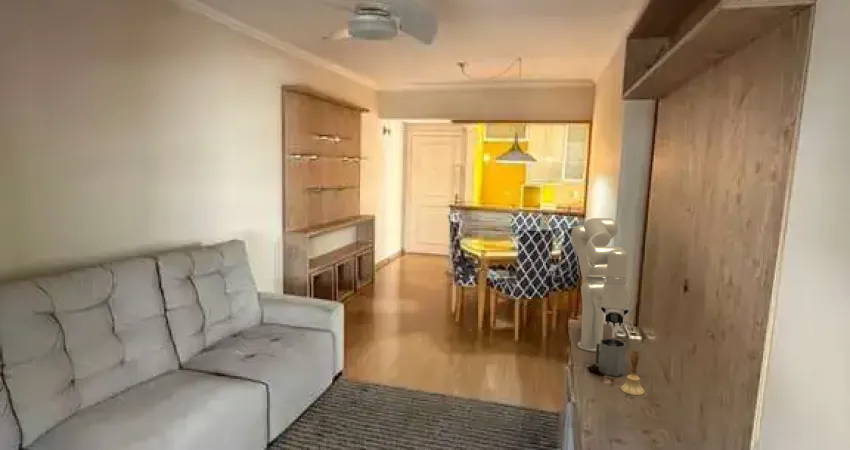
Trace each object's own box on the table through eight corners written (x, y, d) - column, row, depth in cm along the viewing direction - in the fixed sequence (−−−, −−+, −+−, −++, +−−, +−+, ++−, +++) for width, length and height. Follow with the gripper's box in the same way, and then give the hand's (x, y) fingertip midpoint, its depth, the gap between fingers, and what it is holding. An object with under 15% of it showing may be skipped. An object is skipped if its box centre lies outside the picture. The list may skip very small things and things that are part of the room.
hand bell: (643, 387, 191) (645, 347, 189) (645, 396, 184) (647, 355, 182) (620, 384, 194) (622, 345, 192) (621, 393, 186) (623, 352, 184)
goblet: (604, 348, 209) (606, 310, 207) (621, 350, 206) (623, 311, 204) (603, 353, 203) (605, 314, 200) (621, 356, 200) (623, 316, 198)
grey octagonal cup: (595, 365, 212) (597, 337, 211) (624, 368, 208) (625, 340, 207) (595, 374, 203) (596, 345, 202) (624, 378, 199) (626, 348, 198)
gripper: (593, 280, 200) (591, 324, 202) (639, 284, 194) (636, 329, 196) (594, 276, 207) (592, 319, 209) (638, 280, 201) (635, 323, 203)
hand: (613, 323), depth 203 cm, fingers closed on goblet, 4 cm apart
